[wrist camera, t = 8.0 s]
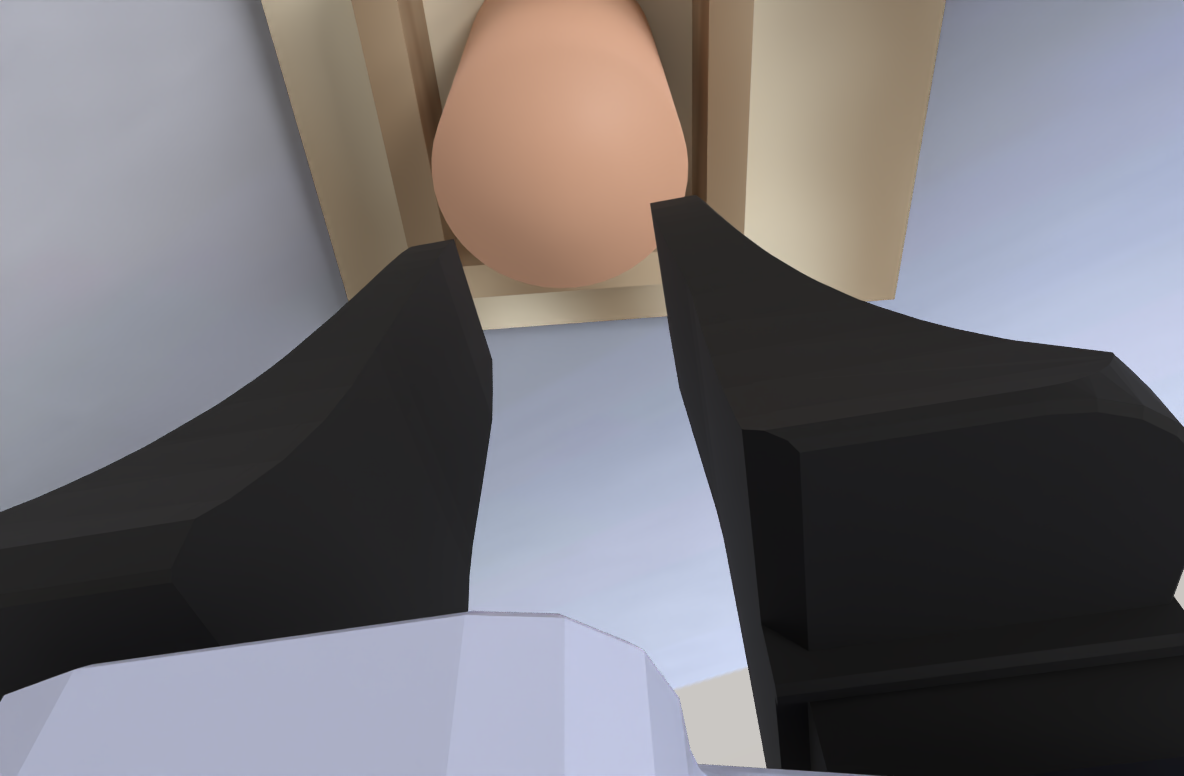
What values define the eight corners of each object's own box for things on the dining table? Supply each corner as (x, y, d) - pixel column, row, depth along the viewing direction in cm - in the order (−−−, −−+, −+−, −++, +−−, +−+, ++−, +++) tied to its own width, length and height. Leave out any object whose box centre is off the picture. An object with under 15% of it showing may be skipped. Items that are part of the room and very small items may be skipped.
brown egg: (649, -50, 17) (684, 29, 12) (659, 144, 19) (691, 276, 14) (450, -28, 17) (404, 59, 12) (485, 162, 19) (458, 298, 14)
